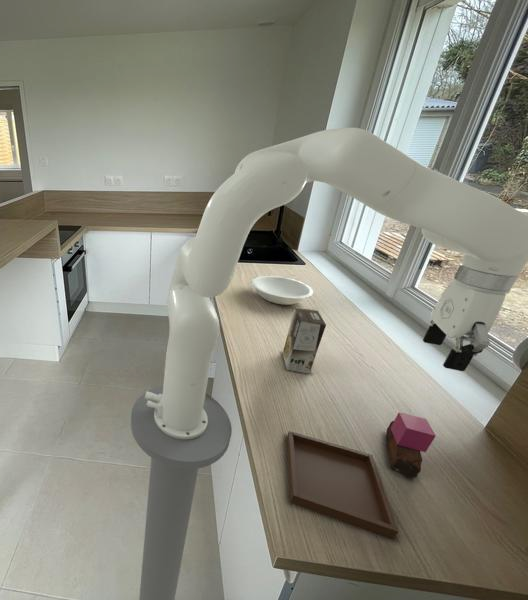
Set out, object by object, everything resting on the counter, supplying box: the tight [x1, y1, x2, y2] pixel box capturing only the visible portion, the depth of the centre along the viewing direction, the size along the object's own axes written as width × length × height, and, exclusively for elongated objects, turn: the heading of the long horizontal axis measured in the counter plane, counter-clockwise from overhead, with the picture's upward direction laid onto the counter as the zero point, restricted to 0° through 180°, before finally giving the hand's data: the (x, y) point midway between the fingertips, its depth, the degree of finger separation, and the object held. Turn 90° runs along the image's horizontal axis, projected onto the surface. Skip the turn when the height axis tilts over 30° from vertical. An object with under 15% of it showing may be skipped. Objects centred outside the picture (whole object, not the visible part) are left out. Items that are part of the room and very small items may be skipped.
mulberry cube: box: [391, 411, 437, 453], centre depth 64 cm, size 5×5×5 cm
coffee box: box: [282, 307, 327, 374], centre depth 93 cm, size 9×6×16 cm
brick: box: [385, 420, 423, 479], centre depth 66 cm, size 11×4×5 cm, turn 150°
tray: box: [286, 430, 399, 540], centre depth 61 cm, size 16×16×2 cm
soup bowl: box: [250, 274, 314, 306], centre depth 135 cm, size 24×24×7 cm
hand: (441, 355), depth 66 cm, fingers open, 9 cm apart
